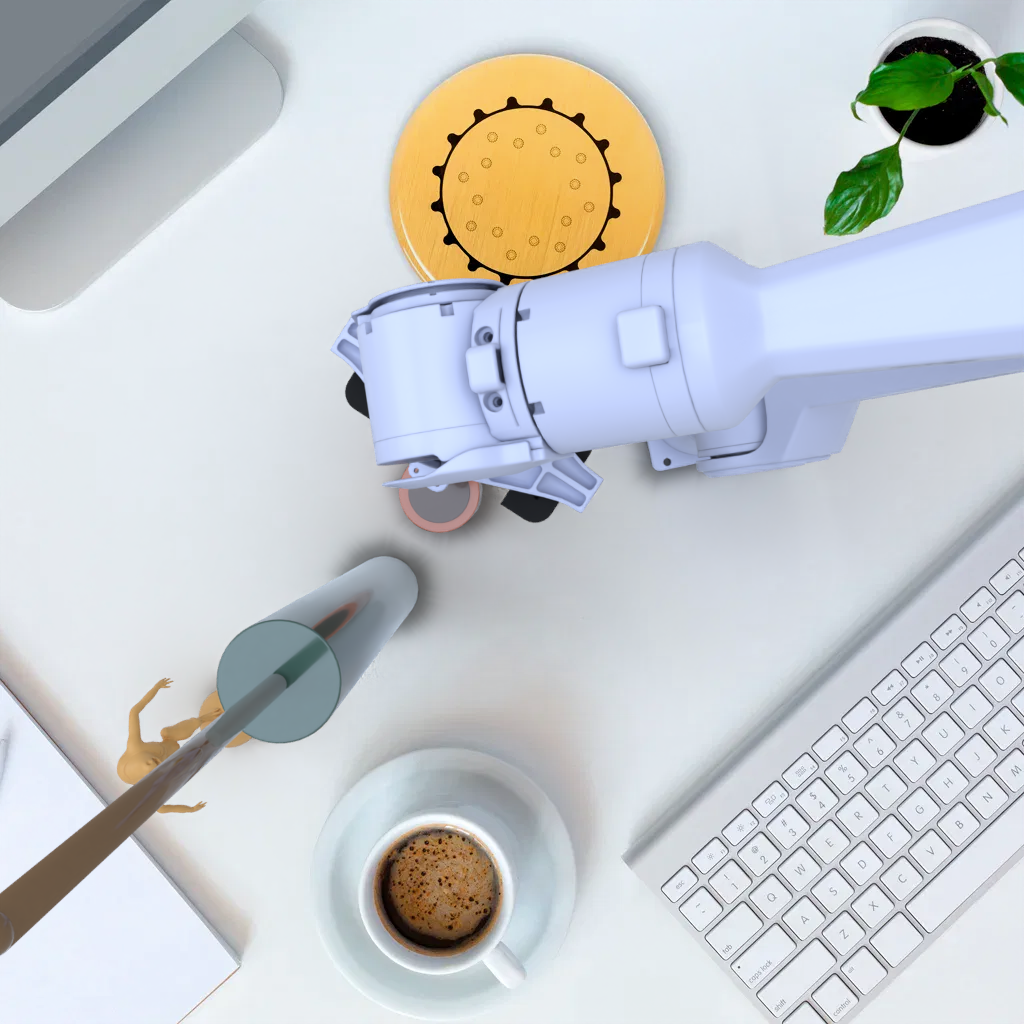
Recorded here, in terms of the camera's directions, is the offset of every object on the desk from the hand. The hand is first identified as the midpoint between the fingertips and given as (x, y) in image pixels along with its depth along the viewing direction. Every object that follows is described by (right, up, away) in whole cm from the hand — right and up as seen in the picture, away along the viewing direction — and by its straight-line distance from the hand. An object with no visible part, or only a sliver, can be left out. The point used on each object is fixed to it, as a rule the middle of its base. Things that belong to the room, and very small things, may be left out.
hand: (474, 425), depth 55 cm
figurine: (-17, -19, +10) cm, 28 cm away
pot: (-2, -4, +10) cm, 10 cm away
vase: (-6, -10, +10) cm, 16 cm away
